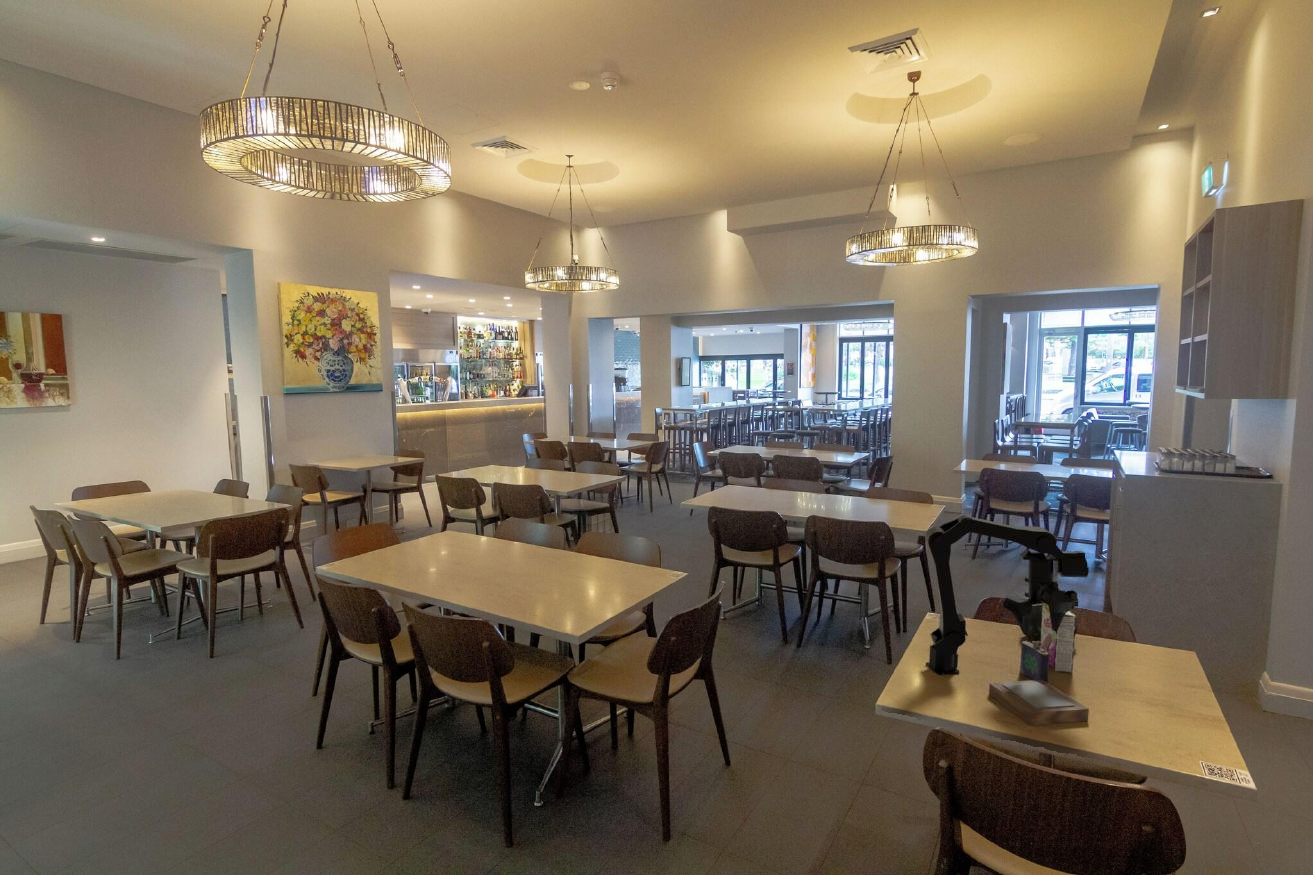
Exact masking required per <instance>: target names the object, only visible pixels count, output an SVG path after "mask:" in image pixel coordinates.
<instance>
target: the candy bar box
mask: <svg viewBox="0 0 1313 875" xmlns="http://www.w3.org/2000/svg"><path fill="white" fill-rule="evenodd" d="M1075 623H1076V624H1077V615H1075V614H1074V613H1073V612H1070V611H1068V612H1067V613H1066V614H1065V615H1064V617H1063V619H1062V622H1061V624H1060V626H1059V628H1058V631H1057V632H1055V631H1053V629H1052V625H1051V618H1050V612H1049V606H1048V605H1043V608H1042V628H1041V643H1039V645H1040V646H1041V647H1042V649H1044V650H1045V651H1046V652H1047V653H1049V667H1050V668H1051V669H1052V670H1053V672H1057V673H1059V672H1060V673H1071V674H1072V673H1073V669H1074V668H1073V665H1074V654H1075V653H1074V652H1075V637H1076V635H1075Z"/></svg>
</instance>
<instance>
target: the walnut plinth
mask: <svg viewBox="0 0 1313 875" xmlns="http://www.w3.org/2000/svg"><path fill="white" fill-rule="evenodd" d="M988 695H989V696H990V697H992V698H993V699H994V700H995V701H997V702H998V703H1000V704H1001V705H1003V706H1004V707H1005V708H1006V709H1008V710H1009V711H1010V712H1012V714H1015V715H1016V716H1017V717H1019V718H1020V719H1021V720H1023V721H1024V722H1025V723H1026V724H1028V725H1029V726H1039V725H1041V726H1043V725H1053V724H1054V725H1056V724H1069V723H1078V722H1088V721H1089V715H1090V714H1089V713H1090V712H1089V711H1090V708H1088V707H1087V706H1085V705H1084V704H1082V703H1081V702H1079V701H1077V700H1076V699H1074V698H1072V697H1071V696H1069V695H1067V694H1066V693H1065V692H1063V691H1061V689H1058V688H1057V687H1055V686H1054V685H1051V684H1050V683H1049V682H1048V683H1047V682H1046V681H1044V680H1029V679H1028V680H1016V681H1001V682H989V686H988Z"/></svg>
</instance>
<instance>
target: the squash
mask: <svg viewBox="0 0 1313 875" xmlns="http://www.w3.org/2000/svg"><path fill="white" fill-rule="evenodd" d="M1042 608H1043V605H1040V606H1032V610H1031V612H1030V613H1032V614H1033V615H1031V616H1030V617H1029V631H1028V636H1027V637H1028V638H1030V639H1032V641H1040V642H1041V628H1042ZM1070 612H1072V610H1070ZM1072 613H1073V612H1072ZM1077 634H1078V627H1077V622H1076V623H1075V636H1076V635H1077ZM1040 642H1039V643H1040Z"/></svg>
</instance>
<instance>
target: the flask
mask: <svg viewBox="0 0 1313 875" xmlns="http://www.w3.org/2000/svg"><path fill="white" fill-rule="evenodd" d="M1040 644H1041V642H1040V641H1034V640H1032V641H1031V642H1030V641H1026V640H1025V641H1023V640H1022V641H1021V646H1020V648H1021V649H1020V665H1019V673H1020V675H1022V676H1024V677H1025V678H1026V679H1027V680H1028V681H1029V680H1044V681H1046V682H1047V683H1049V667H1050V665H1049V653H1047V652H1046V651H1045V650H1044V649H1042V647H1041V646H1040Z"/></svg>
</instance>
